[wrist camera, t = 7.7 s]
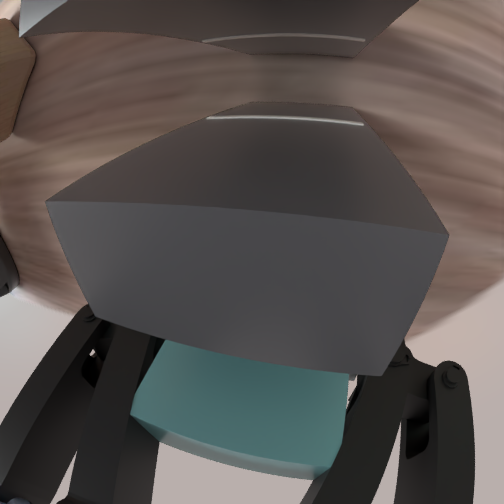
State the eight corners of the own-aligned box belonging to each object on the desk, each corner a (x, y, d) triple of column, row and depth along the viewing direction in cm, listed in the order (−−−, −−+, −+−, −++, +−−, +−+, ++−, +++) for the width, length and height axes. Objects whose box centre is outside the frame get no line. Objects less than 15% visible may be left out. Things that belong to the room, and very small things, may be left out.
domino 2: (253, 146, 14) (96, 318, 5) (251, 101, 13) (44, 197, 3) (349, 153, 13) (379, 377, 3) (352, 106, 11) (450, 231, 2)
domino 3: (253, 235, 16) (156, 440, 7) (252, 196, 15) (124, 411, 5) (340, 246, 15) (318, 480, 6) (346, 205, 14) (338, 466, 4)
